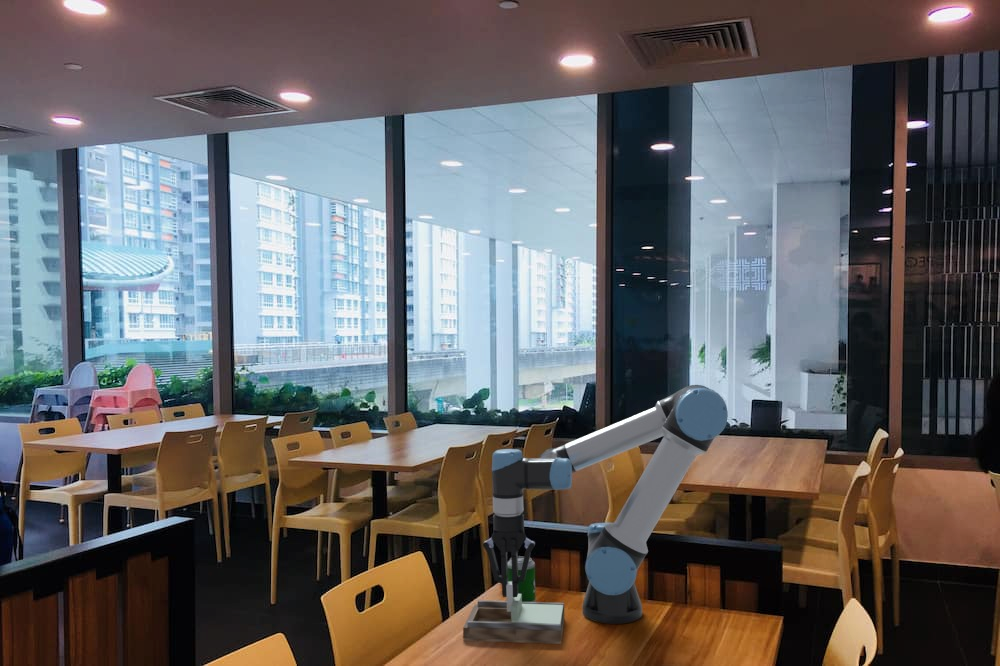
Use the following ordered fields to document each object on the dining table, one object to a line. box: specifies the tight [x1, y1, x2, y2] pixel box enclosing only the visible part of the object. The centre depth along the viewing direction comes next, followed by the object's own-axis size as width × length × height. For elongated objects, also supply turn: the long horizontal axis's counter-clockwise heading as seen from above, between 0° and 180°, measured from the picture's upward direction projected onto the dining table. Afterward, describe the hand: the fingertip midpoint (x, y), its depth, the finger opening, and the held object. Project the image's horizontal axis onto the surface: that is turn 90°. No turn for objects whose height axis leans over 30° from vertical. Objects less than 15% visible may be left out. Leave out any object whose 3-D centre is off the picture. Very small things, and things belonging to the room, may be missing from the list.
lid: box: [511, 594, 563, 624], centre depth 188 cm, size 12×13×4 cm
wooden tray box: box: [462, 599, 565, 645], centre depth 188 cm, size 23×16×4 cm
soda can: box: [507, 555, 536, 602], centre depth 206 cm, size 8×8×12 cm
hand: (510, 609), depth 188 cm, fingers closed
